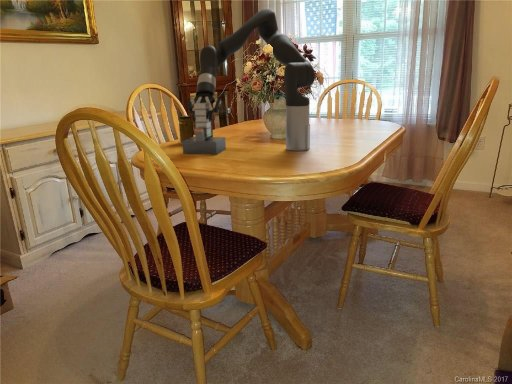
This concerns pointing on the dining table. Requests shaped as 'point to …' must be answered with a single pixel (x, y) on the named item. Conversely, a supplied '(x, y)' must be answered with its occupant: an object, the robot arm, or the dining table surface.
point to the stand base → (203, 144)
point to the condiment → (185, 128)
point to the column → (203, 117)
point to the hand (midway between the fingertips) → (201, 120)
